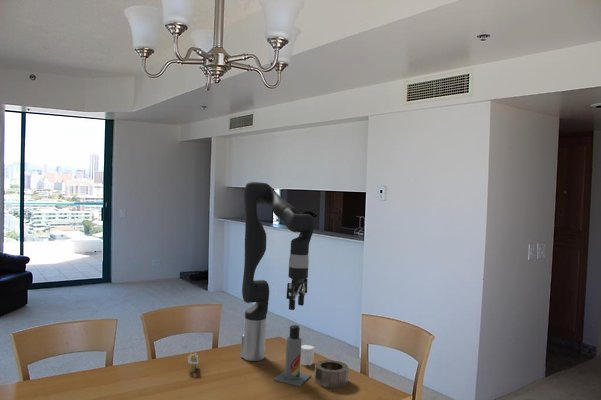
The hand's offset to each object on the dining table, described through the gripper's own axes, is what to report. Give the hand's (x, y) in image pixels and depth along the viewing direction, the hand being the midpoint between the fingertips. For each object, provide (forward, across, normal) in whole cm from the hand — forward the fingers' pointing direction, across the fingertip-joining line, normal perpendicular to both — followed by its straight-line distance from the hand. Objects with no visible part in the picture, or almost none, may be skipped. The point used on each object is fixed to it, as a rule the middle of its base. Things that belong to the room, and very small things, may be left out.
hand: (296, 307), depth 188 cm
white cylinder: (+28, +18, +2) cm, 33 cm away
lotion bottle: (+27, 0, 0) cm, 27 cm away
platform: (+28, -13, +38) cm, 49 cm away
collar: (+28, +5, -14) cm, 31 cm away
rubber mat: (+28, 0, 0) cm, 28 cm away
